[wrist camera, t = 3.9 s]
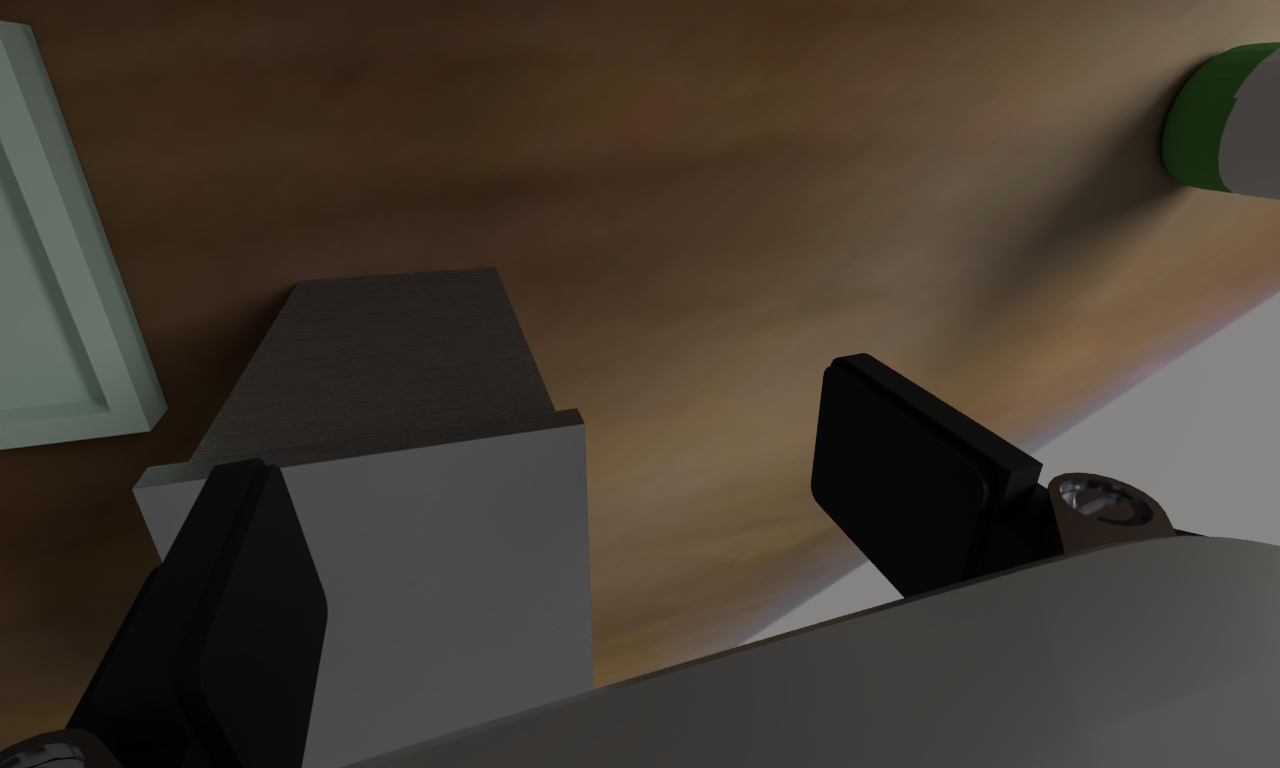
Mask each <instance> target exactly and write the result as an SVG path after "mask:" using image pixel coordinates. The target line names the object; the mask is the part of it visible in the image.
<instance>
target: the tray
mask: <svg viewBox="0 0 1280 768" xmlns="http://www.w3.org/2000/svg"><path fill="white" fill-rule="evenodd" d="M167 409H168V406H167V404H166V401H165V398H164V395H163V392H162V390H161V387H160V384H159V381H158V379H157V376H156V373H155V370H154V367H153V365H152V362H151V359H150V356H149V354H148V351H147V348H146V345H145V343H144V340H143V337H142V334H141V331H140V329H139V326H138V323H137V320H136V318H135V315H134V312H133V309H132V306H131V304H130V301H129V298H128V295H127V293H126V290H125V287H124V284H123V282H122V279H121V276H120V273H119V270H118V268H117V265H116V262H115V259H114V257H113V254H112V251H111V248H110V245H109V243H108V240H107V237H106V234H105V232H104V229H103V226H102V223H101V221H100V218H99V215H98V212H97V209H96V207H95V204H94V201H93V198H92V196H91V193H90V190H89V187H88V184H87V182H86V179H85V176H84V173H83V171H82V168H81V165H80V162H79V160H78V157H77V154H76V151H75V148H74V146H73V143H72V140H71V137H70V135H69V132H68V129H67V126H66V123H65V121H64V118H63V115H62V112H61V110H60V107H59V104H58V101H57V98H56V96H55V93H54V90H53V87H52V85H51V82H50V79H49V76H48V74H47V71H46V68H45V65H44V62H43V60H42V57H41V54H40V51H39V49H38V46H37V43H36V40H35V37H34V35H33V32H32V29H31V26H30V25H25V24H19V23H12V22H5V21H0V450H2V449H11V448H19V447H27V446H35V445H43V444H51V443H59V442H67V441H75V440H83V439H91V438H99V437H108V436H116V435H124V434H132V433H140V432H148V431H151V430H152V429H153V427H154V426H155V425H156V424H157V422H158V421H159V420H160V418H161V417H162V416H163V415H164V413H165V412H166V411H167Z"/></svg>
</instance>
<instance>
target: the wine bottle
mask: <svg viewBox="0 0 1280 768" xmlns="http://www.w3.org/2000/svg"><path fill="white" fill-rule="evenodd" d="M1162 155H1163V162H1164V164H1165V166H1166V168H1167V170H1168V172H1169V174H1170V175H1171V176H1173V177H1174V178H1175V179H1176V180H1177V181H1179V182H1180V183H1182V184H1184V185H1187V186H1192V187H1196V188H1201V189H1206V190H1214V191H1221V192H1229V193H1237V194H1241V195H1247V196H1255V197H1262V198H1270V199H1278V200H1280V42H1274V43H1259V44H1250V45H1243V46H1238V47H1235V48H1232V49H1230V50H1228V51H1226V52H1224V53H1221V54H1219V55H1217V56H1215V57H1214V58H1212V59H1211V60H1210V61H1208V62H1207V63H1206V64H1205V65H1203V66H1202V67H1201V68H1200V69H1198V70H1197V71H1196V73H1195V74H1194V75H1193V76H1192V77H1191V78H1190V79H1189V80H1188V82H1187V83H1186V84H1185V85H1184V87H1183V88H1182V90H1181V92H1180V93H1179V95H1178V96H1177V98H1176V99H1175V101H1174V103H1173V106H1172V108H1171V110H1170V112H1169V114H1168V117H1167V120H1166V124H1165V127H1164V131H1163V138H1162Z"/></svg>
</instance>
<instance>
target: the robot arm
mask: <svg viewBox="0 0 1280 768" xmlns="http://www.w3.org/2000/svg"><path fill="white" fill-rule="evenodd" d="M1042 466H1043V464H1042V463H1040V462H1039V461H1037V460H1036V459H1034V458H1033V457H1031V456H1029V455H1028V454H1026V453H1025V452H1023V451H1021V450H1020V449H1018V448H1017V447H1015V446H1013V445H1012V444H1010V443H1009V442H1007V441H1006V440H1004V439H1002V438H1001V437H999V436H998V435H996V434H994V433H993V432H991V431H990V430H988V429H986V428H985V427H983V426H982V425H980V424H979V423H977V422H975V421H974V420H972V419H971V418H969V417H967V416H966V415H964V414H963V413H961V412H959V411H958V410H956V409H955V408H953V407H951V406H950V405H948V404H947V403H945V402H944V401H942V400H940V399H939V398H937V397H936V396H934V395H932V394H931V393H929V392H928V391H926V390H924V389H923V388H921V387H920V386H918V385H917V384H915V383H913V382H912V381H910V380H909V379H907V378H905V377H904V376H902V375H901V374H899V373H897V372H896V371H894V370H893V369H891V368H890V367H888V366H886V365H885V364H883V363H882V362H880V361H878V360H877V359H875V358H874V357H872V356H870V355H869V354H866V353H861V354H855V355H850V356H844V357H838V358H836V359H834V360H833V361H832V363H831V365H830V367H828V368H826V370H825V372H824V376H823V384H822V392H821V401H820V409H819V418H818V426H817V435H816V444H815V452H814V461H813V469H812V478H811V490H812V494H813V497H814V499H815V501H816V502H817V503H818V504H819V505H820V507H821V508H822V509H823V510H824V511H825V512H826V513H827V514H828V515H829V516H830V517H831V519H832V520H833V521H834V522H835V523H836V524H837V525H838V526H839V527H840V528H841V529H842V530H843V532H844V533H845V534H846V535H847V536H848V537H849V538H850V539H851V540H852V541H853V542H854V544H855V545H856V546H857V547H858V548H859V549H860V550H861V551H862V552H863V553H864V554H865V556H866V557H867V558H868V559H869V560H870V561H871V562H872V563H873V564H874V565H875V566H876V567H877V569H878V570H879V571H880V572H881V573H882V574H883V575H884V576H885V577H886V578H887V579H888V581H889V582H890V583H891V584H892V585H893V586H894V587H895V588H896V589H897V590H898V591H899V593H900V594H901V595H902V596H903V597H904V599H900V600H897V601H893V602H890V603H886V604H883V605H880V606H876V607H872V608H869V609H865V610H862V611H859V612H855V613H852V614H848V615H845V616H841V617H838V618H834V619H831V620H827V621H824V622H821V623H818V624H814V625H811V626H807V627H803V628H800V629H797V630H793V631H790V632H786V633H783V634H780V635H776V636H773V637H769V638H766V639H763V640H759V641H756V642H752V643H749V644H746V645H742V646H739V647H735V648H732V649H729V650H725V651H722V652H718V653H715V654H712V655H708V656H705V657H702V658H698V659H695V660H691V661H688V662H685V663H681V664H678V665H674V666H671V667H668V668H664V669H661V670H658V671H654V672H651V673H647V674H644V675H641V676H637V677H634V678H631V679H627V680H624V681H621V682H617V683H614V684H611V685H607V686H604V687H601V688H597V689H594V690H591V691H587V692H584V693H581V694H577V695H574V696H571V697H567V698H564V699H561V700H557V701H554V702H551V703H547V704H544V705H541V706H538V707H534V708H531V709H528V710H524V711H521V712H518V713H514V714H511V715H508V716H504V717H501V718H498V719H494V720H491V721H488V722H484V723H481V724H478V725H474V726H471V727H468V728H464V729H461V730H458V731H454V732H451V733H448V734H445V735H441V736H438V737H435V738H432V739H429V740H425V741H422V742H419V743H416V744H413V745H409V746H406V747H403V748H400V749H397V750H393V751H390V752H387V753H384V754H381V755H377V756H374V757H371V758H368V759H365V760H361V761H358V762H355V763H352V764H349V765H346V766H343V767H340V768H1280V546H1276V545H1272V544H1266V543H1260V542H1255V541H1249V540H1242V539H1234V538H1224V537H1223V538H1222V537H1208V536H1204V535H1199V534H1195V533H1191V532H1186V531H1182V530H1177V529H1174V528H1173V527H1172V524H1171V523H1170V521H1169V519H1168V517H1167V515H1166V513H1165V511H1164V510H1163V509H1162V507H1161V506H1160V505H1159V503H1158V502H1156V501H1155V500H1154V499H1153V498H1151V497H1150V496H1149V495H1147V494H1146V493H1144V492H1142V491H1140V490H1139V489H1137V488H1135V487H1133V486H1131V485H1129V484H1126V483H1124V482H1121V481H1118V480H1115V479H1112V478H1109V477H1104V476H1100V475H1096V474H1088V473H1065V474H1062V475H1059V476H1056V477H1054V478H1053V479H1052V480H1051V481H1050V483H1049V485H1048V488H1047V489H1046V488H1045V487H1043V486H1042V485H1040V484H1039V483H1037V481H1038V478H1039V475H1040V472H1041V469H1042ZM327 619H328V607H327V600H326V596H325V592H324V590H323V587H322V584H321V581H320V578H319V575H318V573H317V570H316V567H315V564H314V561H313V559H312V556H311V553H310V550H309V547H308V544H307V542H306V539H305V536H304V533H303V530H302V528H301V525H300V522H299V519H298V516H297V513H296V511H295V508H294V505H293V502H292V499H291V497H290V494H289V491H288V488H287V485H286V482H285V480H284V477H283V474H282V472H281V469H280V468H279V466H278V465H276V464H275V465H270V466H266V464H265V463H264V461H263V460H262V459H260V458H254V459H249V460H243V461H237V462H231V463H226V464H220V465H216V466H214V468H213V469H212V471H211V472H210V474H209V476H208V478H207V480H206V482H205V484H204V486H203V487H202V489H201V491H200V493H199V495H198V497H197V499H196V501H195V503H194V504H193V506H192V508H191V510H190V512H189V514H188V516H187V518H186V519H185V521H184V523H183V525H182V527H181V529H180V531H179V533H178V535H177V536H176V538H175V540H174V542H173V544H172V546H171V548H170V550H169V551H168V553H167V555H166V557H165V559H164V561H163V563H162V565H161V566H159V567H157V568H155V569H154V570H153V571H152V572H151V574H150V575H149V576H148V577H147V579H146V581H145V583H144V585H143V587H142V588H141V590H140V592H139V594H138V596H137V597H136V599H135V601H134V603H133V605H132V607H131V608H130V610H129V612H128V614H127V616H126V618H125V619H124V621H123V623H122V625H121V627H120V629H119V630H118V632H117V634H116V636H115V638H114V640H113V641H112V643H111V645H110V647H109V649H108V651H107V652H106V654H105V656H104V658H103V660H102V662H101V663H100V665H99V667H98V669H97V671H96V673H95V674H94V676H93V678H92V680H91V682H90V684H89V685H88V687H87V689H86V691H85V693H84V695H83V696H82V698H81V700H80V702H79V704H78V706H77V707H76V709H75V711H74V713H73V715H72V717H71V718H70V720H69V722H68V724H67V726H66V728H65V729H63V730H58V731H52V732H47V733H42V734H39V735H37V736H34V737H32V738H29V739H27V740H24V741H21V742H19V743H16V744H14V745H12V746H10V747H8V748H6V749H4V750H3V751H1V752H0V768H302V763H303V758H304V752H305V746H306V740H307V735H308V729H309V723H310V717H311V712H312V706H313V700H314V694H315V689H316V683H317V677H318V671H319V666H320V660H321V654H322V648H323V642H324V637H325V631H326V625H327Z"/></svg>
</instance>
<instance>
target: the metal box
mask: <svg viewBox="0 0 1280 768" xmlns="http://www.w3.org/2000/svg"><path fill="white" fill-rule="evenodd" d="M254 458H260V459H262V460H263V461H264V463H265V464H266V466H270V465H275V464H276V465H278V466H279V468H280V469H281V472H282V474H283V477H284V480H285V482H286V485H287V488H288V491H289V494H290V497H291V499H292V502H293V505H294V508H295V511H296V513H297V516H298V519H299V522H300V525H301V528H302V530H303V533H304V536H305V539H306V542H307V544H308V547H309V550H310V553H311V556H312V559H313V561H314V564H315V567H316V570H317V573H318V575H319V578H320V581H321V584H322V587H323V590H324V592H325V596H326V600H327V607H328V619H327V625H326V631H325V637H324V642H323V648H322V654H321V660H320V666H319V671H318V677H317V683H316V689H315V694H314V700H313V706H312V712H311V717H310V723H309V729H308V735H307V740H306V746H305V752H304V758H303V763H302V768H340V767H343V766H346V765H349V764H352V763H355V762H358V761H361V760H365V759H368V758H371V757H374V756H377V755H381V754H384V753H387V752H390V751H393V750H397V749H400V748H403V747H406V746H409V745H413V744H416V743H419V742H422V741H425V740H429V739H432V738H435V737H438V736H441V735H445V734H448V733H451V732H454V731H458V730H461V729H464V728H468V727H471V726H474V725H478V724H481V723H484V722H488V721H491V720H494V719H498V718H501V717H504V716H508V715H511V714H514V713H518V712H521V711H524V710H528V709H531V708H534V707H538V706H541V705H544V704H547V703H551V702H554V701H557V700H561V699H564V698H567V697H571V696H574V695H577V694H581V693H584V692H587V691H591V690H594V686H593V656H592V626H591V596H590V566H589V537H588V507H587V477H586V447H585V423H584V421H583V419H582V417H581V415H580V413H579V411H578V409H577V408H576V409H568V410H561V411H555V408H554V406H553V404H552V401H551V399H550V396H549V394H548V392H547V389H546V387H545V384H544V382H543V380H542V377H541V375H540V372H539V370H538V368H537V365H536V363H535V360H534V358H533V356H532V353H531V351H530V348H529V346H528V344H527V341H526V339H525V336H524V334H523V332H522V329H521V327H520V324H519V322H518V320H517V317H516V315H515V312H514V310H513V308H512V305H511V303H510V300H509V298H508V296H507V293H506V291H505V288H504V286H503V284H502V281H501V279H500V276H499V274H498V272H497V269H496V268H485V269H471V270H457V271H443V272H429V273H414V274H400V275H386V276H372V277H358V278H343V279H329V280H315V281H301V282H298V284H297V285H296V287H295V289H294V290H293V292H292V294H291V295H290V297H289V298H288V300H287V302H286V303H285V305H284V307H283V308H282V310H281V312H280V313H279V315H278V316H277V318H276V320H275V321H274V323H273V325H272V326H271V328H270V330H269V331H268V333H267V334H266V336H265V338H264V339H263V341H262V343H261V344H260V346H259V348H258V349H257V351H256V352H255V354H254V356H253V357H252V359H251V361H250V362H249V364H248V366H247V367H246V369H245V370H244V372H243V374H242V375H241V377H240V379H239V380H238V382H237V384H236V385H235V387H234V388H233V390H232V392H231V393H230V395H229V397H228V398H227V400H226V402H225V403H224V405H223V406H222V408H221V410H220V411H219V413H218V415H217V416H216V418H215V420H214V421H213V423H212V424H211V426H210V428H209V429H208V431H207V433H206V434H205V436H204V438H203V439H202V441H201V442H200V444H199V446H198V447H197V449H196V451H195V452H194V454H193V456H192V457H191V459H190V460H189V462H183V463H175V464H168V465H161V466H153V467H148V468H147V469H146V471H145V472H144V473H143V475H142V476H141V478H140V479H139V481H138V482H137V483H136V485H135V486H134V488H133V489H132V490H133V493H134V495H135V498H136V500H137V502H138V505H139V507H140V510H141V512H142V515H143V517H144V519H145V522H146V524H147V527H148V529H149V531H150V534H151V536H152V539H153V541H154V543H155V546H156V548H157V551H158V553H159V555H160V558H161V560H162V563H163V561H164V559H165V557H166V555H167V553H168V551H169V550H170V548H171V546H172V544H173V542H174V540H175V538H176V536H177V535H178V533H179V531H180V529H181V527H182V525H183V523H184V521H185V519H186V518H187V516H188V514H189V512H190V510H191V508H192V506H193V504H194V503H195V501H196V499H197V497H198V495H199V493H200V491H201V489H202V487H203V486H204V484H205V482H206V480H207V478H208V476H209V474H210V472H211V471H212V469H213V468H214V466H216V465H220V464H226V463H231V462H237V461H243V460H249V459H254Z"/></svg>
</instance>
